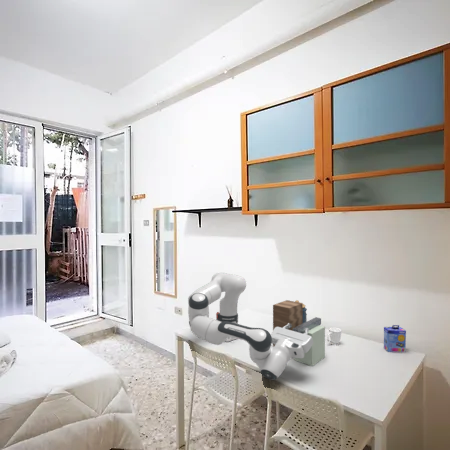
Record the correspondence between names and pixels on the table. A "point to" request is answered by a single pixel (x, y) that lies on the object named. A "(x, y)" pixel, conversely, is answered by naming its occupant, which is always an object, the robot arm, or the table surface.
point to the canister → (303, 313)
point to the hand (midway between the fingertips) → (298, 326)
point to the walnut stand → (287, 314)
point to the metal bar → (308, 325)
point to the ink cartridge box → (394, 339)
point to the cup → (334, 335)
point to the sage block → (315, 347)
